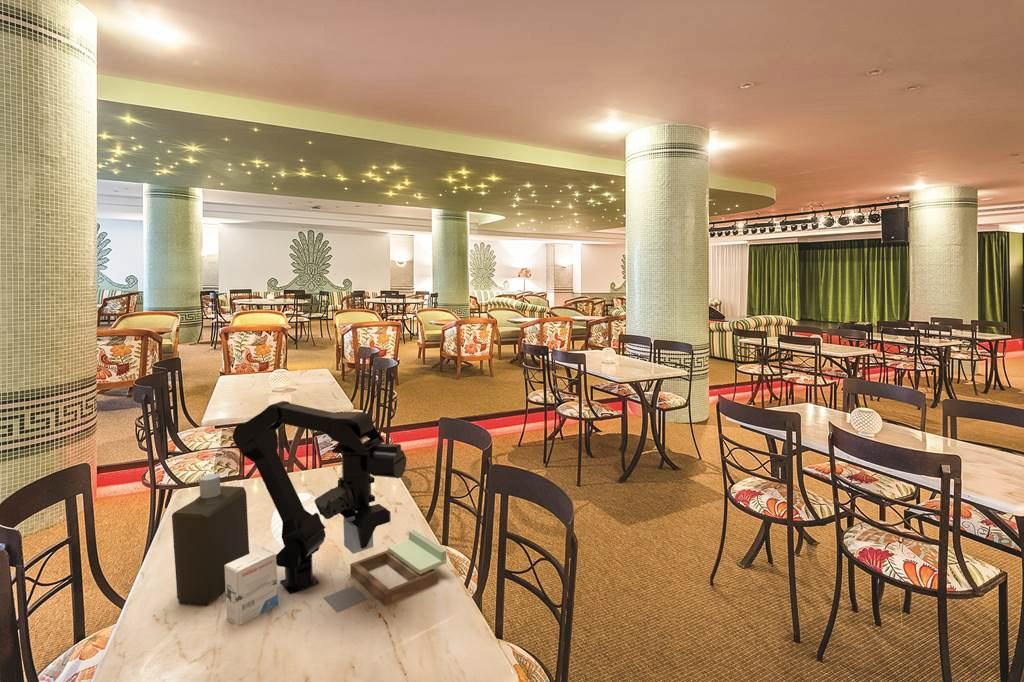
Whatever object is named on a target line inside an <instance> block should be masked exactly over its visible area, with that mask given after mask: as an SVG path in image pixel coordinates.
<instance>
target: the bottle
mask: <svg viewBox="0 0 1024 682" xmlns="http://www.w3.org/2000/svg"><path fill="white" fill-rule="evenodd" d="M220 477H221V476H220V475H219V474H218V473H209V474H204V475H202V476H200V477H198V482H199V496H198V497H197V498H195V500H192V501H190V502H189V503H188V504H186V505H184V506H183V507H181V508H179V509H177V510H176V511H174V512H172V514H171V523H172V536H173V537H172V538H173V553H174V556H173V557H174V567H175V583H176V584H175V585H176V598H177V600H178V604H179V605H189V606H202V607H204V606H205V607H207V606H208V605H209V604H210V603H211V602H213V601H214V600H215V599H216V598H217V597H218V596H219V595H220V594H221V593H223V592H224V591H226V589H225V564H228V563H230V562H232V561H234V560H237V559H239V558H241V557H243V556H245V555H248V554H250V545H249V544H250V541H249V524H248V523H249V521H248V520H249V519H248V501H247V498H248V497H247V491H246V488H245V487H244V486H231V485H228V486H227V485H225V486H224V485H221V479H220Z"/></svg>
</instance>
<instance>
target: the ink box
mask: <svg viewBox="0 0 1024 682" xmlns="http://www.w3.org/2000/svg"><path fill="white" fill-rule="evenodd" d="M276 555H277V553H276V552H273V551H271V550H269V549H267V548H264V547H261V548H259V549H256V550H255V551H252V552H249V554H248V555H245V556H243V557H241V558H239V559H237V560H234V561H232V562H230V563H228V564H225V607H226V609H225V610H226V619H227V620H229V622H231V623H232V624H234V625H238V626H241V625H242V624H244V623H246V622H249V621H250V620H252V619H254V618H255V617H258V616H259V615H261V614H263V613H264V612H267V611H268V610H271V609H272V608H273V607H275V606H277V605H278V604H279V599H278V597H279V595H278V574H277V573H278V572H277V567H278V566H277V564H276Z"/></svg>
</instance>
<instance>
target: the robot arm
mask: <svg viewBox="0 0 1024 682" xmlns="http://www.w3.org/2000/svg"><path fill="white" fill-rule="evenodd" d="M283 425H287V426H292V427H296V428H301V429H305V430H309V431H312V432H313V431H314V432H317V433H323V434H324V435H327V436H328V437H329V438H330V439H331V440H332V441H334V442H337V443H338V444H337V445H336V446H335V447H333V448H332V449H331V452H332V453H333V454H340V455H341V468H342V469H341V471H342V472H341V473H342V477H341V476H340V477H339V478H338V480H337V486H336V487H334V488H330V489H329V490H328V491H326V492H324V493H323V494H321V495H320V496H318V497H316V498H315V499H314V500H313V501H314V504H315V506H316V508H317V510H318V512H315V513H314V514H312V513H311V512H308V511H307V510H306V509H305V508H304V505H303V503H302V501H301V500H300V497H299V495H298V493H297V490H296V489H295V486H294V485H293V483H292V480H291V478H290V476H289V474H288V471H287V470H286V468H285V465H284V463H283V461H282V460H281V457H280V455H279V453H278V446H279V445H278V444H279V436H278V433H277V430H278V429H279V428H281V427H282V426H283ZM367 438H368V440H366V441H364V442H363V440H365V439H367ZM232 440H233V442H234V444H235V446H236V447H237V448H238V450H239V452H240V453H241V455H243V456H244V457H246V459H248V460H250V461H251V462H253V463H254V465H255V466H256V469H257V471H258V473H259V475H260V477H261V479H262V481H263V483H264V485H265V488H266V489H267V492H268V494H269V496H270V498H271V500H272V502H273V505H274V507H275V508H276V511H277V513H278V515H279V517H280V519H281V522H282V524H281V525H282V526H281V527H282V528H281V529H282V530H281V539H282V542H283V543H282V544H283V546H284V547H283V548H282V549H281V550H280V551H279V552H278V553H276V566H277V567H283V568H284V575H285V576H284V579H281V580H280V581H279V584H280V585H281V586H282V587H283V588H284V589H285V591H287V593H288V594H289V595H292V594H293V595H294V594H296V593H298V592H301V591H303V590H306V589H309V588H311V587H314V586H317V585H319V583H320V582H319V580H318V579H317V578H316V577H315V576H314V572H313V571H314V570H313V568H314V567H313V566H314V565H313V554H315V553H316V552H318V551H319V550H320V548H321V546H322V545H323V544H324V542H325V538H326V531H325V529H327V528H326V526H325V525H324V524H323V522H322V519H321V518H320V515H321V516H322V517H324V519H325V520H329V519H332V518H333V517H334V516H337V515H339V514H340V515H342V517H343V519H346V518H349V517H352V516H355V520H353V521H350V522H351V523H352V524H354V525H355V526H356V527H357V529H358V535H359V541H360V545H361V548H362V549H363V548H366V547H367V545H368V543H369V541H370V539H371V536H372V534H373V535H374V531H376V528H377V527H378V526H382V525H385V524H387V523H390V522H391V520H392V519H391V511H390V510H388V509H387V508H386V507H385V506H382V505H381V504H380V503H377V504H373V505H370V503H373V502H376V497H375V495H373V494H372V484H373V483H375V477H382V478H390V479H400V478H402V477H403V475H404V473H405V470H406V467H407V456H406V454H405V452H404V450H402V444H399V443H393V444H388V443H384V442H385V439H384V438H383V436H382V435H381V433H380V432H379V431H378V429H377V428H376V426H375V424H374V423H373V419H372V418H371V416H370V414H368V413H366V412H363V411H362V412H361V411H344V412H341V411H340V412H332V411H326V410H322V409H318V408H313V407H308V406H304V405H299V404H295V403H291V402H289V401H286V400H281V401H279V402H275V403H273V404H270V405H268V406H267V407H266V408H265V409H264V410H262V411H261V412H259V413H258V414H257V415H255V416H254V417H252V418H250V419H249V420H248V421H245V422H242V423H239V424H238V425H236V426H235V428H234V430H233V433H232Z"/></svg>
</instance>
